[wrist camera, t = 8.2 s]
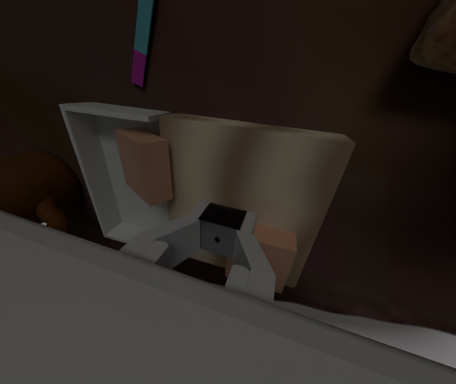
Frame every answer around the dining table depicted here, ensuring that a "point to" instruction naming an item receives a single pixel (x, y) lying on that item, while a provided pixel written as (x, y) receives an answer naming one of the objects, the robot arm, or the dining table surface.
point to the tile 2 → (274, 252)
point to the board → (255, 174)
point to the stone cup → (438, 40)
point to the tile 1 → (145, 164)
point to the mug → (38, 188)
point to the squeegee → (142, 40)
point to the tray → (112, 165)
